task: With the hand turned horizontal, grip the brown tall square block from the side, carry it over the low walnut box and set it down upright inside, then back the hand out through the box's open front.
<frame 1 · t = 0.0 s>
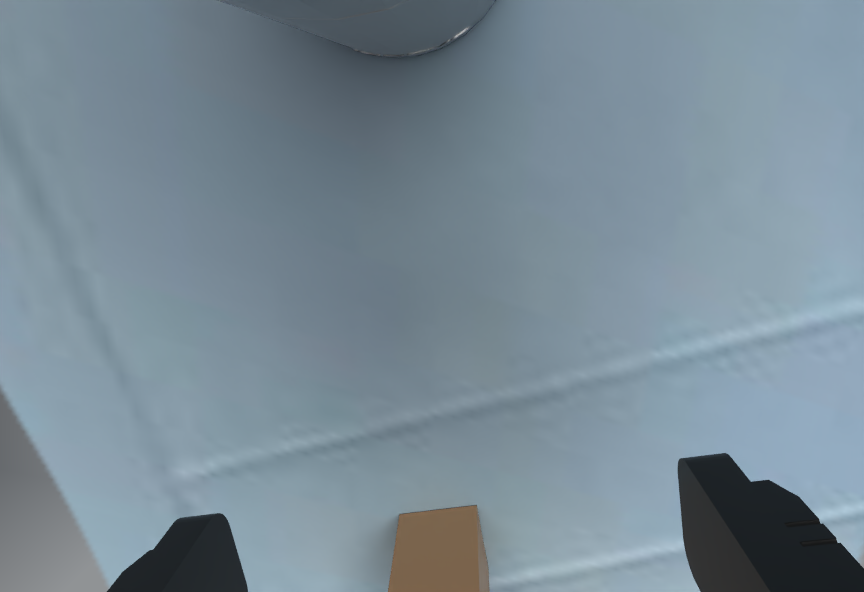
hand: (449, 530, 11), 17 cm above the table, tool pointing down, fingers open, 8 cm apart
brown tall square block: (444, 541, 32), on the table
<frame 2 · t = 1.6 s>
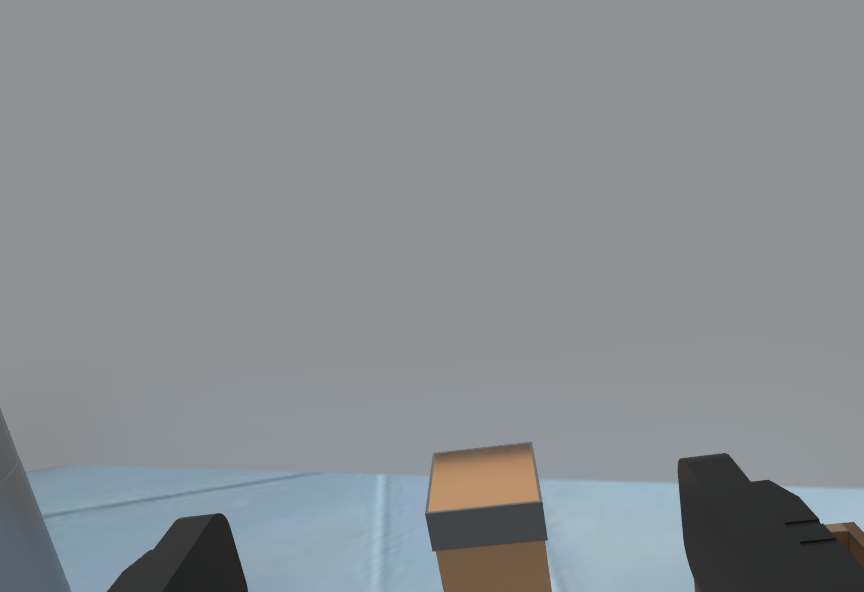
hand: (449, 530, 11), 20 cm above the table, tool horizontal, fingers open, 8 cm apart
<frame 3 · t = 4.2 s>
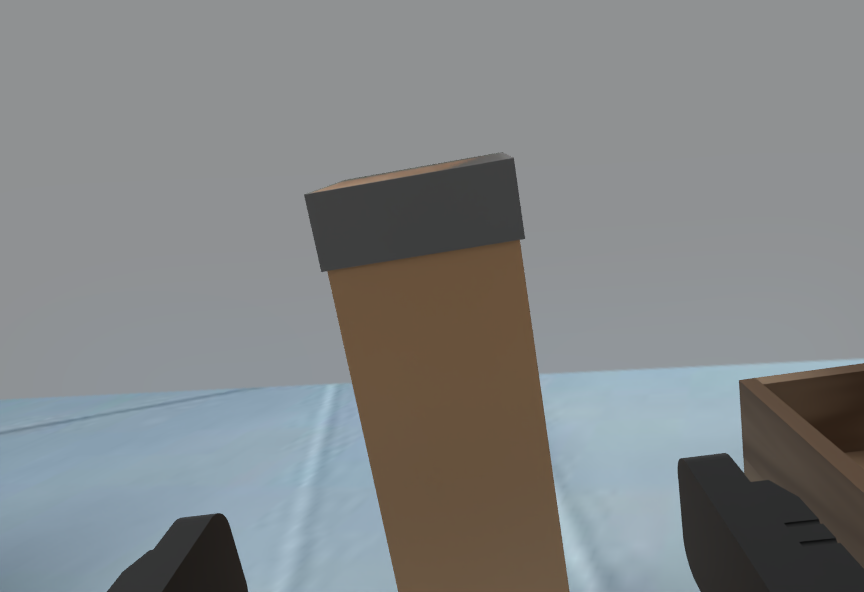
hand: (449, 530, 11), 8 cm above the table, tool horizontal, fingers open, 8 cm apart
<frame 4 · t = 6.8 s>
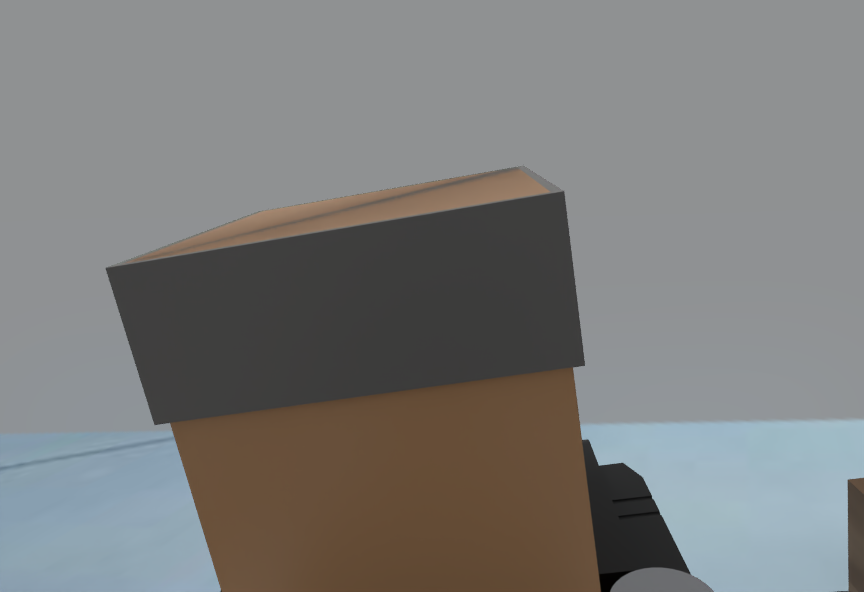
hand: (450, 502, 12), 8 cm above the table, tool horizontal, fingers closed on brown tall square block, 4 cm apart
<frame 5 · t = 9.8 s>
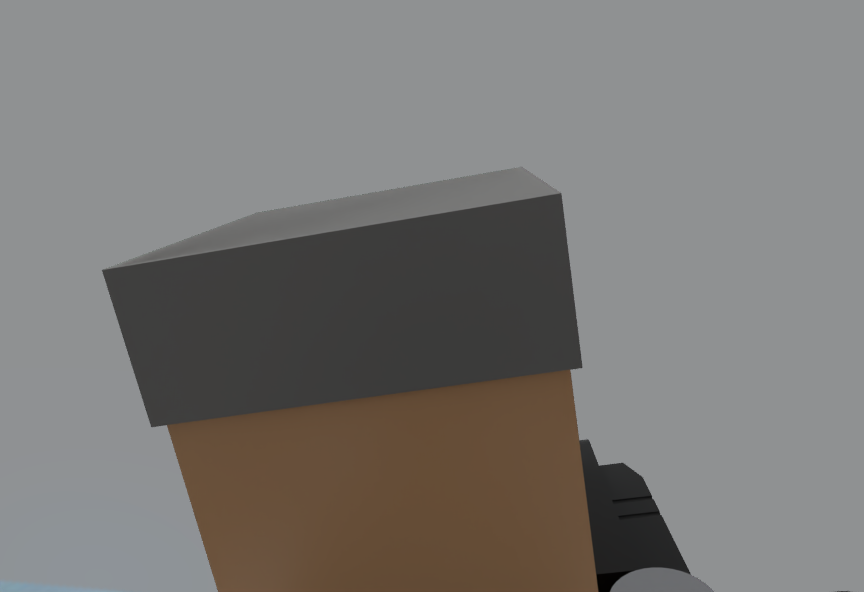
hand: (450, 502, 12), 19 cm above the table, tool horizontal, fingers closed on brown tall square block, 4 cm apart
when the fingers open (10 cm above the table, at t = 13.3 s): brown tall square block drops 1 cm, resting on walnut box.
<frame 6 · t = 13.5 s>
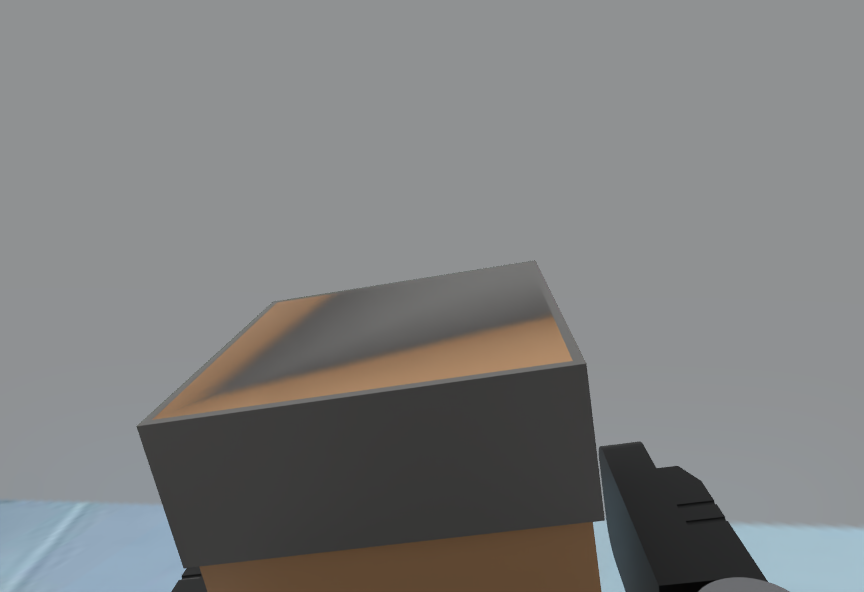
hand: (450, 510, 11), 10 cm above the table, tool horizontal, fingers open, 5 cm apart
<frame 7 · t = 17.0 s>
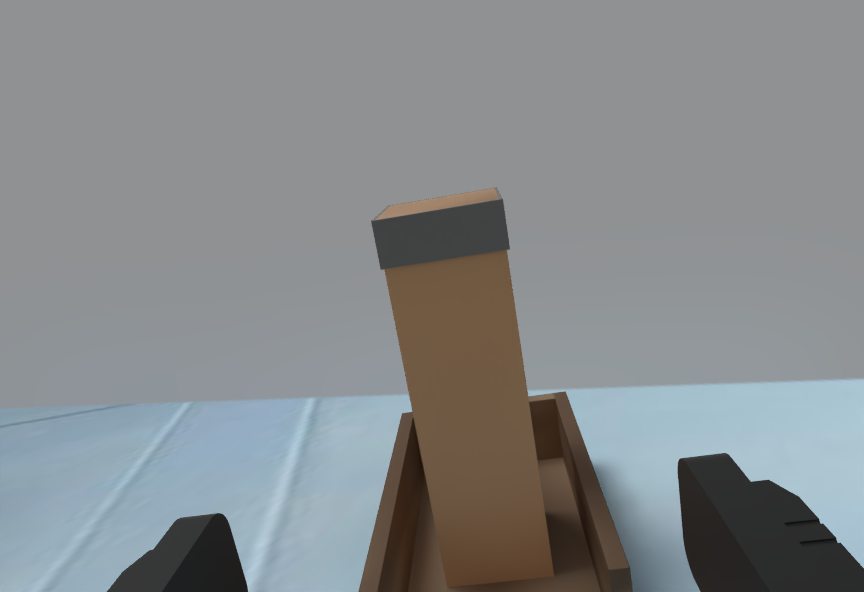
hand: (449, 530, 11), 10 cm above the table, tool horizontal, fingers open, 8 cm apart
brown tall square block: (497, 546, 25), point 1 cm above the table, touching walnut box
walnut box: (500, 555, 25), on the table
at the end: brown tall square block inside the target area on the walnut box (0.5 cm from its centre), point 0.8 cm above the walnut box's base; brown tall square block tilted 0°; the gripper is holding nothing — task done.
